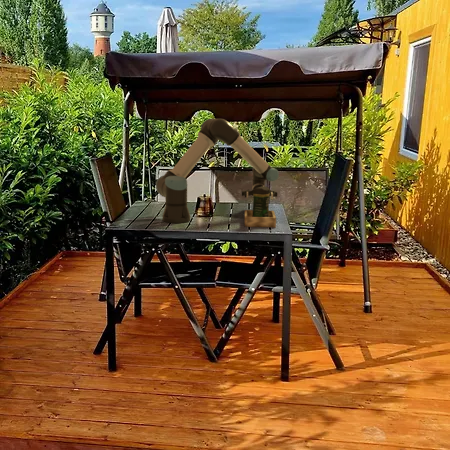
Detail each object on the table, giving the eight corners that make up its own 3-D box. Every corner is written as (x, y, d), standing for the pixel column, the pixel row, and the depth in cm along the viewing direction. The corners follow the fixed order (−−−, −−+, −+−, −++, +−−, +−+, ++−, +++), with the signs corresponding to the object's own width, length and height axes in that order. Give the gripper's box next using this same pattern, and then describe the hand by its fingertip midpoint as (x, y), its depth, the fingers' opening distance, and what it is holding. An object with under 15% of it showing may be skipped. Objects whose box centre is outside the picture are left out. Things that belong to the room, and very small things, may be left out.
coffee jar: (264, 223, 245) (265, 188, 241) (250, 222, 248) (251, 187, 244) (270, 220, 253) (271, 186, 249) (257, 218, 257) (258, 185, 253)
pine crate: (244, 226, 241) (244, 217, 240) (244, 218, 261) (244, 210, 260) (275, 227, 241) (276, 217, 240) (273, 219, 260) (273, 210, 259)
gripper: (279, 197, 278) (282, 203, 258) (237, 196, 279) (236, 202, 259) (280, 184, 277) (282, 189, 256) (237, 183, 278) (237, 188, 257)
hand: (259, 196), depth 257 cm, fingers open, 13 cm apart
